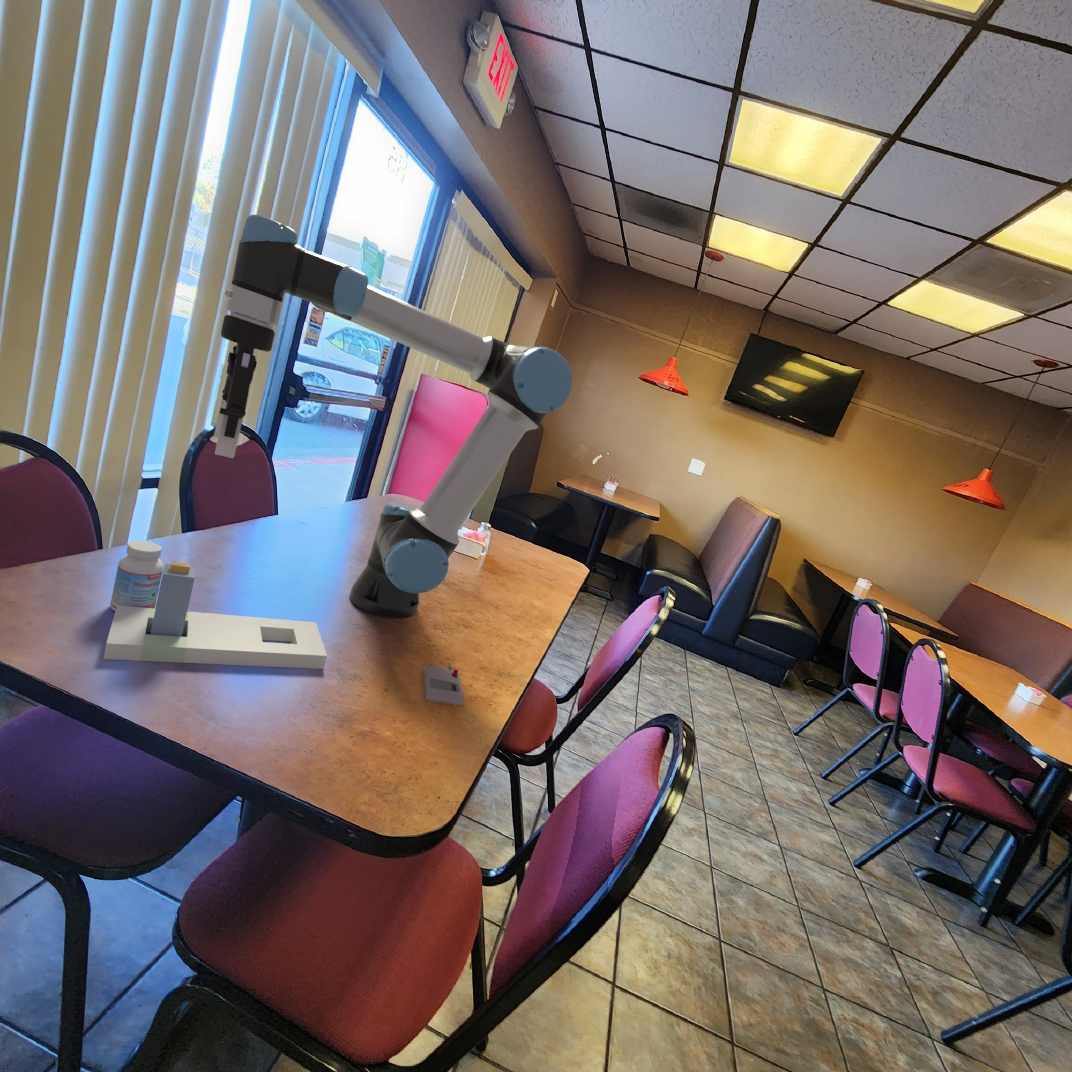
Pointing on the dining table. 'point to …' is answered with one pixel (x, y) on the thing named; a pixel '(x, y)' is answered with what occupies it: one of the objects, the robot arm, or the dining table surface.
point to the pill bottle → (138, 576)
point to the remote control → (443, 685)
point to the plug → (173, 599)
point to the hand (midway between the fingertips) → (223, 446)
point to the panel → (216, 640)
